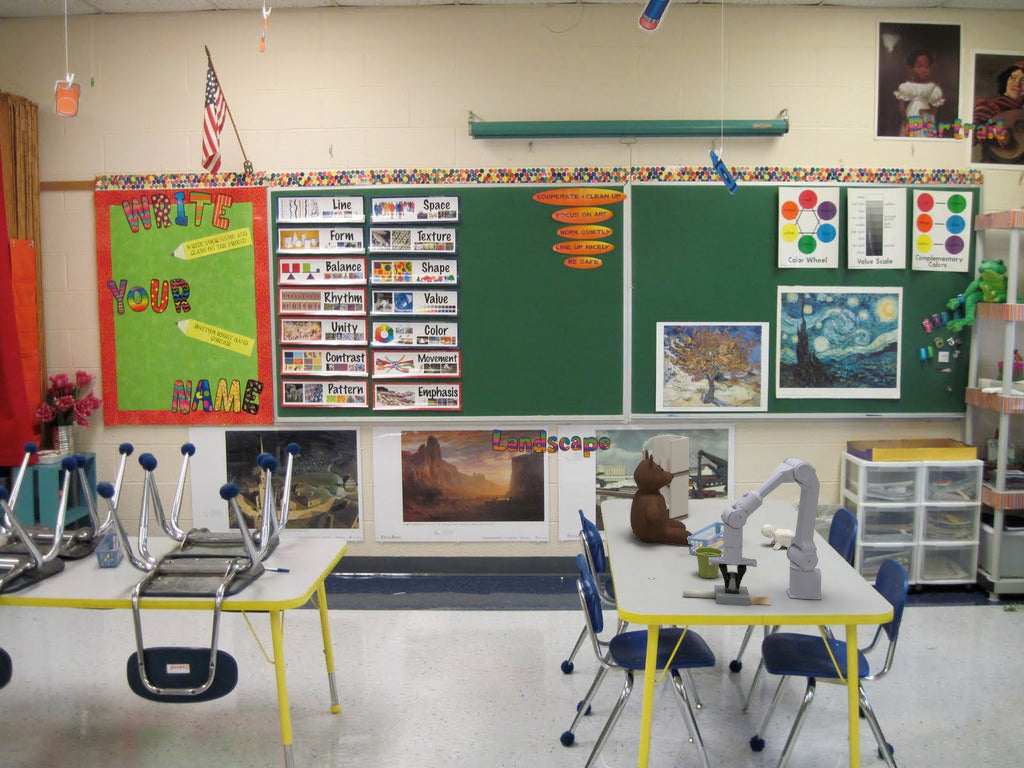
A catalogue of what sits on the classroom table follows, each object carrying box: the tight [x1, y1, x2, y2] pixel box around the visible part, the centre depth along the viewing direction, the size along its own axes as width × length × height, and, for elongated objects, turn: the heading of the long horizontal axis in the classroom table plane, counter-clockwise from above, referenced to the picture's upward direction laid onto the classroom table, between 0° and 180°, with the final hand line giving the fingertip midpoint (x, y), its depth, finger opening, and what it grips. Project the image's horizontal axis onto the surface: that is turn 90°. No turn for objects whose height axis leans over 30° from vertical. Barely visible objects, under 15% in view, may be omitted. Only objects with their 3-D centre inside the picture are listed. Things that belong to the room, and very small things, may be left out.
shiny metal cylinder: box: [727, 570, 737, 594], centre depth 264 cm, size 3×3×8 cm
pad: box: [749, 595, 772, 607], centre depth 262 cm, size 6×6×1 cm
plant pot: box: [694, 546, 723, 579], centre depth 285 cm, size 9×9×9 cm
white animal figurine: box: [760, 523, 796, 551], centre depth 317 cm, size 9×8×15 cm
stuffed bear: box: [629, 449, 694, 546], centre depth 325 cm, size 29×23×35 cm
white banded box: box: [651, 433, 690, 522], centre depth 356 cm, size 11×11×35 cm
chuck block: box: [682, 584, 751, 607], centre depth 265 cm, size 20×10×2 cm, turn 80°
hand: (732, 587), depth 264 cm, fingers closed on shiny metal cylinder, 3 cm apart
